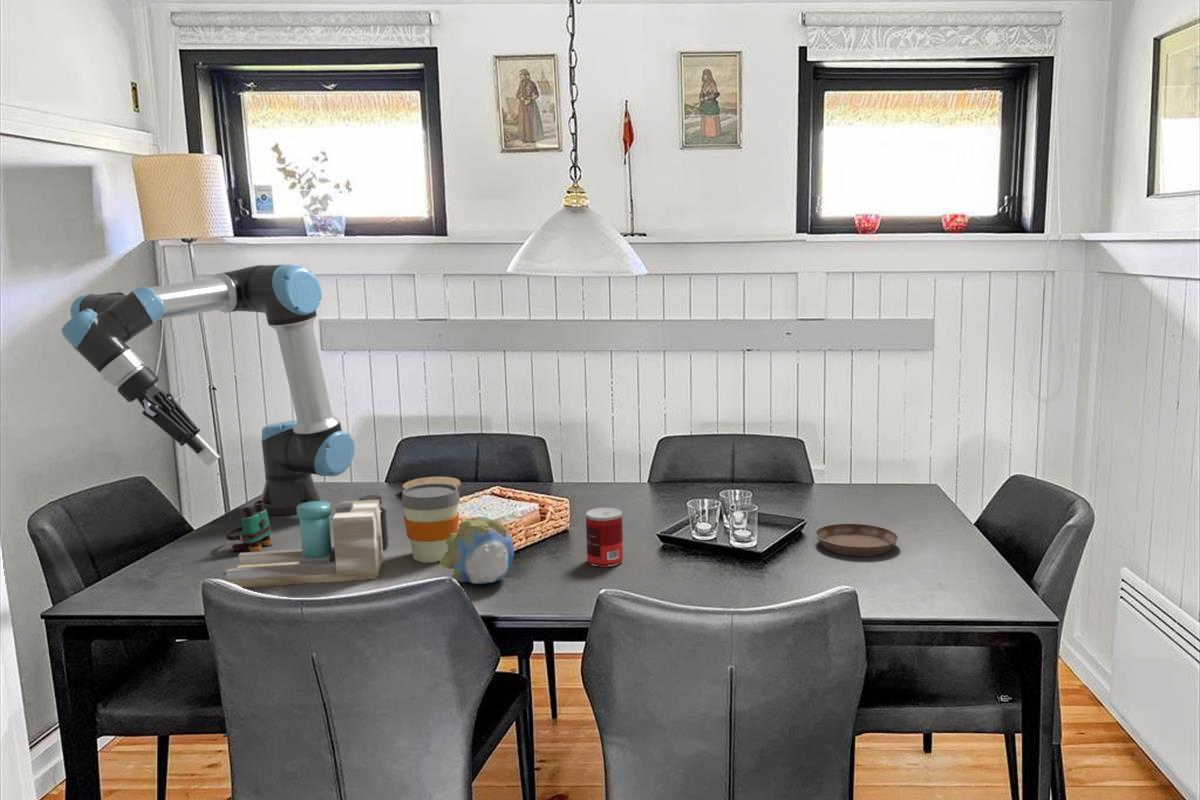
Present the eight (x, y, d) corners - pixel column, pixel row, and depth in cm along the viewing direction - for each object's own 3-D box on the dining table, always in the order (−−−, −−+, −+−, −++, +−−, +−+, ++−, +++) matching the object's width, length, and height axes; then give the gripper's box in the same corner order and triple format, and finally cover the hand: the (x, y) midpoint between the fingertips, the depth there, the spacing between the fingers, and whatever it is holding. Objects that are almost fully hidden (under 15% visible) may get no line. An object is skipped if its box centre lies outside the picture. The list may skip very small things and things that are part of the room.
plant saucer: (833, 530, 223) (833, 518, 223) (908, 542, 213) (909, 529, 213) (802, 551, 209) (802, 538, 209) (881, 566, 199) (882, 552, 199)
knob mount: (242, 567, 207) (236, 502, 205) (383, 558, 210) (379, 495, 208) (226, 588, 194) (220, 519, 192) (376, 579, 198) (372, 511, 195)
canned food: (627, 557, 207) (626, 508, 206) (616, 569, 200) (615, 519, 198) (594, 554, 210) (593, 506, 208) (582, 566, 203) (580, 516, 201)
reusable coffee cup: (436, 568, 203) (432, 500, 201) (392, 559, 210) (388, 493, 207) (473, 551, 214) (470, 486, 211) (431, 543, 220) (428, 480, 218)
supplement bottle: (395, 545, 220) (392, 494, 218) (376, 554, 214) (373, 502, 212) (371, 542, 222) (367, 492, 220) (351, 551, 216) (348, 499, 214)
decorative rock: (490, 517, 186) (511, 499, 200) (417, 538, 189) (443, 519, 204) (513, 584, 187) (532, 561, 201) (440, 604, 190) (464, 580, 205)
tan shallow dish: (392, 494, 265) (391, 484, 265) (440, 483, 276) (440, 473, 275) (423, 505, 254) (422, 494, 253) (472, 493, 264) (472, 483, 264)
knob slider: (304, 559, 206) (300, 501, 203) (337, 557, 206) (332, 499, 204) (298, 571, 198) (293, 511, 196) (331, 569, 199) (327, 509, 197)
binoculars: (234, 501, 225) (272, 498, 222) (242, 544, 226) (280, 541, 224) (212, 511, 216) (251, 508, 214) (220, 556, 217) (259, 553, 215)
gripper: (127, 382, 200) (208, 464, 206) (105, 394, 188) (192, 481, 194) (154, 359, 200) (234, 442, 206) (134, 370, 188) (220, 458, 193)
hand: (214, 461), depth 200 cm, fingers closed
